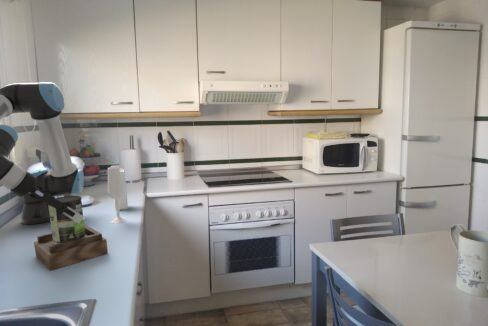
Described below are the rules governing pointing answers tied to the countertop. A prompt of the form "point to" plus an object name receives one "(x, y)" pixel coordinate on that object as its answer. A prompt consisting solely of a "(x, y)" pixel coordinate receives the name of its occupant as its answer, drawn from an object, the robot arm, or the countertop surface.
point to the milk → (123, 200)
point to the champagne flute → (115, 190)
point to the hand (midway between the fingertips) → (74, 216)
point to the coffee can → (66, 221)
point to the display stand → (70, 249)
